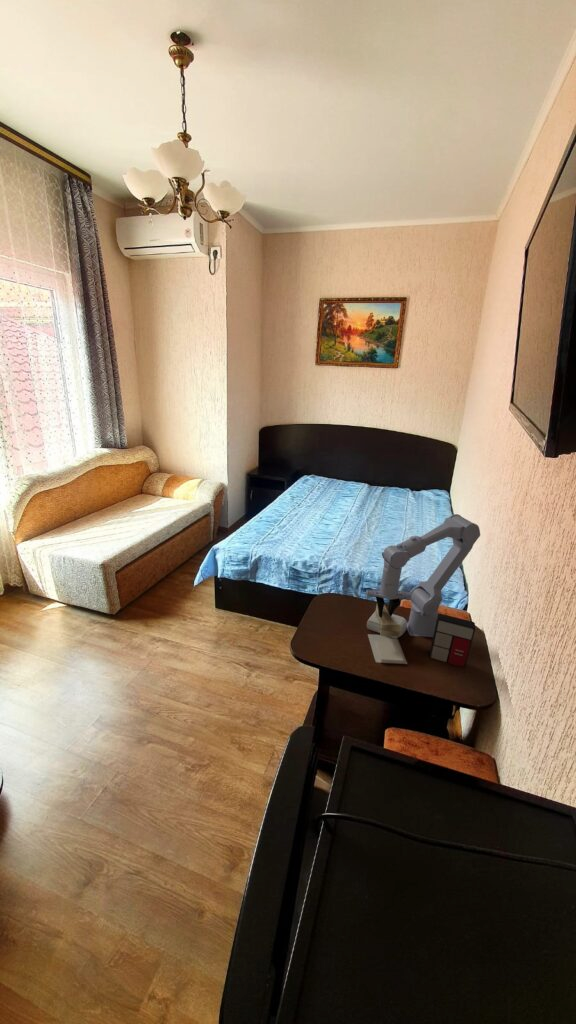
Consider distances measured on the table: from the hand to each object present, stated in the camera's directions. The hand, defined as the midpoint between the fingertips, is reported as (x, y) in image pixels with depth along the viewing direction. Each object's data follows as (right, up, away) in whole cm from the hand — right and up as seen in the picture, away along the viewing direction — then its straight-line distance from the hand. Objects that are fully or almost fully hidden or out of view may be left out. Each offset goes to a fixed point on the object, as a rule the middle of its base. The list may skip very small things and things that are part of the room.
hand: (384, 615), depth 139 cm
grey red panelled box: (+18, -13, -7) cm, 24 cm away
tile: (0, -8, -3) cm, 9 cm away
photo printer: (-3, -3, +8) cm, 9 cm away
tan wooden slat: (0, -3, 0) cm, 3 cm away
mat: (0, -10, -5) cm, 11 cm away
